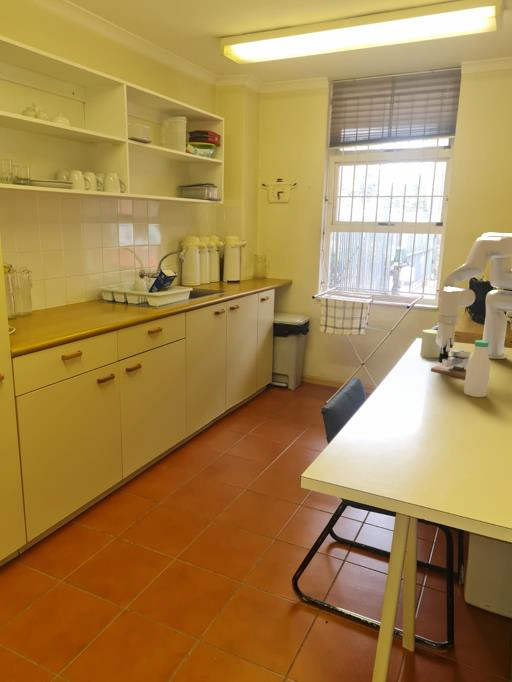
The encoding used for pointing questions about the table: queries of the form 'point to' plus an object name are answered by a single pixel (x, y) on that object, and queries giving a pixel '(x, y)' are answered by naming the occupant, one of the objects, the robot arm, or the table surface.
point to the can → (429, 344)
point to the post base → (451, 370)
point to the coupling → (455, 360)
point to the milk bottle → (477, 371)
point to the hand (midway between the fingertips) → (443, 362)
